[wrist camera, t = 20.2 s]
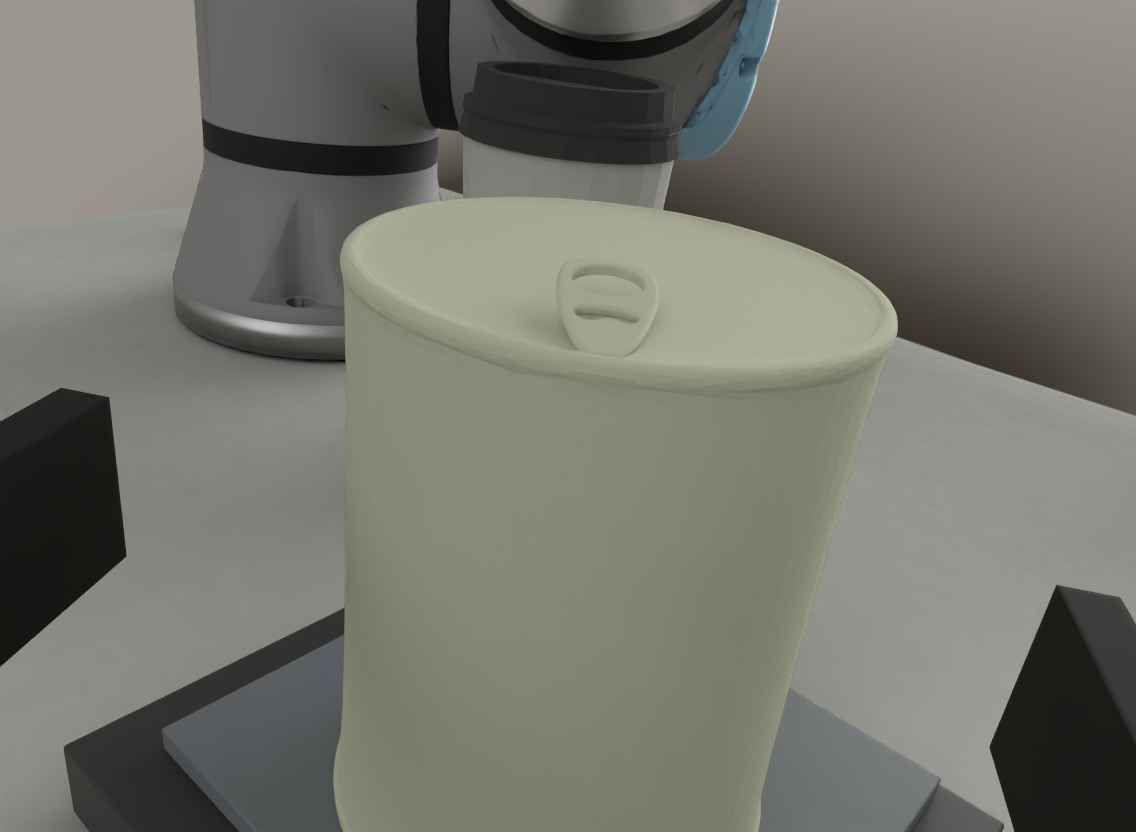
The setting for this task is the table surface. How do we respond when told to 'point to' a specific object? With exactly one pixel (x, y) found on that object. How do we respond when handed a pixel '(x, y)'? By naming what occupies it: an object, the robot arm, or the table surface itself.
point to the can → (585, 509)
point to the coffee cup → (568, 134)
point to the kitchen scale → (313, 728)
